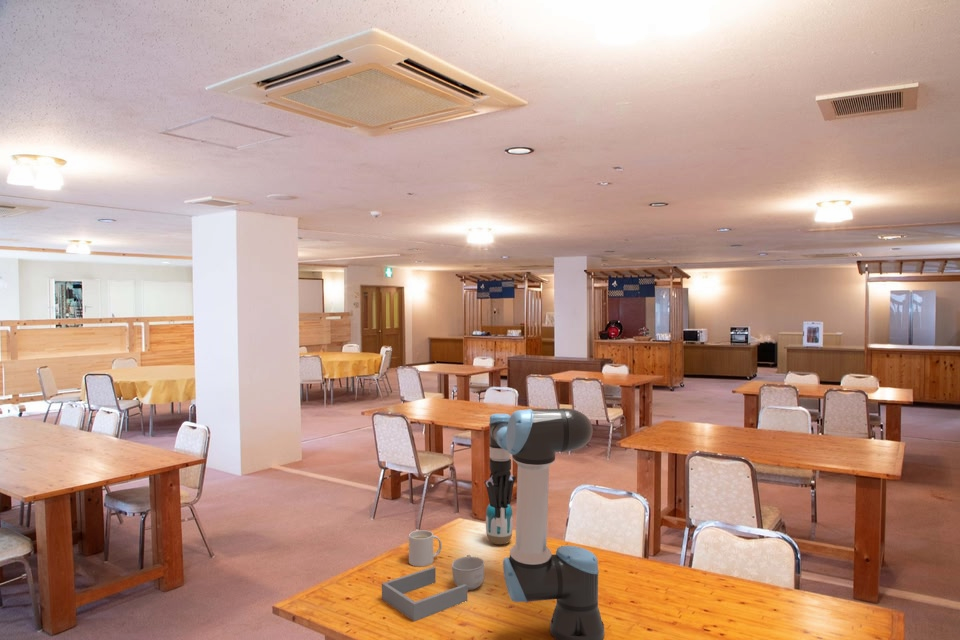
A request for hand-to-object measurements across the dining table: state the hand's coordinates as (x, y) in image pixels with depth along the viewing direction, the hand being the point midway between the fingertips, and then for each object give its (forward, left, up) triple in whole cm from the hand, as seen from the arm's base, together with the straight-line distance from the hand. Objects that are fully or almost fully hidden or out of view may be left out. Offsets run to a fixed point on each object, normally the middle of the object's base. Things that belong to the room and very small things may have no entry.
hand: (500, 526), depth 216 cm
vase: (+21, -18, -17) cm, 32 cm away
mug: (+25, +15, -17) cm, 33 cm away
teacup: (0, +14, -17) cm, 22 cm away
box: (0, +32, -16) cm, 36 cm away
